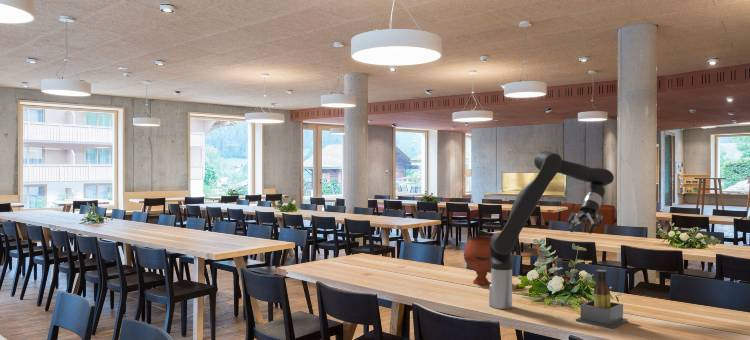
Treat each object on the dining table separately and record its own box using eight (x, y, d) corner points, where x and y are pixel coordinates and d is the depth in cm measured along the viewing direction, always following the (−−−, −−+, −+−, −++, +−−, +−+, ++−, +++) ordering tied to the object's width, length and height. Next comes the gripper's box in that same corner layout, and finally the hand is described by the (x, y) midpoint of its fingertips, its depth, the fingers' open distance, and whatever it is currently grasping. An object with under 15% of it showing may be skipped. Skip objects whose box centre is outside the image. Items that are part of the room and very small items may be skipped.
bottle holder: (575, 321, 226) (575, 304, 226) (591, 314, 237) (591, 298, 237) (613, 328, 216) (613, 310, 216) (627, 321, 226) (627, 304, 226)
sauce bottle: (606, 316, 230) (606, 268, 230) (613, 320, 223) (613, 271, 223) (591, 316, 229) (591, 268, 229) (597, 320, 223) (597, 271, 223)
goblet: (497, 279, 311) (497, 235, 311) (501, 287, 292) (501, 239, 292) (462, 279, 313) (462, 234, 313) (464, 286, 294) (464, 239, 294)
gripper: (573, 198, 255) (562, 225, 247) (604, 199, 245) (593, 227, 237) (578, 209, 259) (567, 236, 251) (609, 211, 249) (598, 238, 241)
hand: (580, 231), depth 244 cm, fingers open, 8 cm apart
